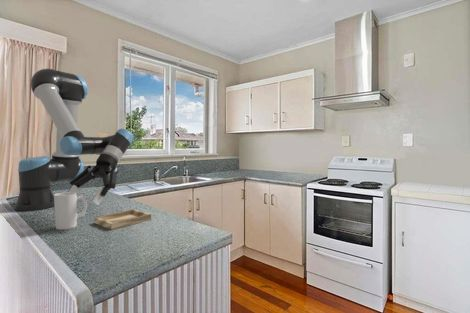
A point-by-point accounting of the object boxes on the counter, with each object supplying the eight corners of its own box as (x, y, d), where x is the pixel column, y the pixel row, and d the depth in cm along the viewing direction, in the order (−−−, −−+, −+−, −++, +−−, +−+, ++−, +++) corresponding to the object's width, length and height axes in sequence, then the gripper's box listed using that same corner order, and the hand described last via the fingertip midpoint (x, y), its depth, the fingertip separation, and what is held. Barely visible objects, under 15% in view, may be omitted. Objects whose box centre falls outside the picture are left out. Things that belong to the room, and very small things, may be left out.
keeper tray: (95, 223, 97) (95, 217, 97) (133, 214, 109) (133, 209, 109) (111, 230, 89) (111, 224, 89) (151, 219, 102) (151, 214, 101)
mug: (56, 231, 88) (54, 196, 87) (54, 226, 93) (52, 193, 92) (89, 225, 94) (88, 192, 94) (85, 221, 99) (85, 190, 99)
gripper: (139, 164, 108) (113, 209, 94) (91, 164, 115) (61, 205, 101) (129, 152, 102) (101, 198, 89) (80, 152, 109) (47, 194, 96)
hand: (80, 202), depth 95 cm, fingers open, 13 cm apart
